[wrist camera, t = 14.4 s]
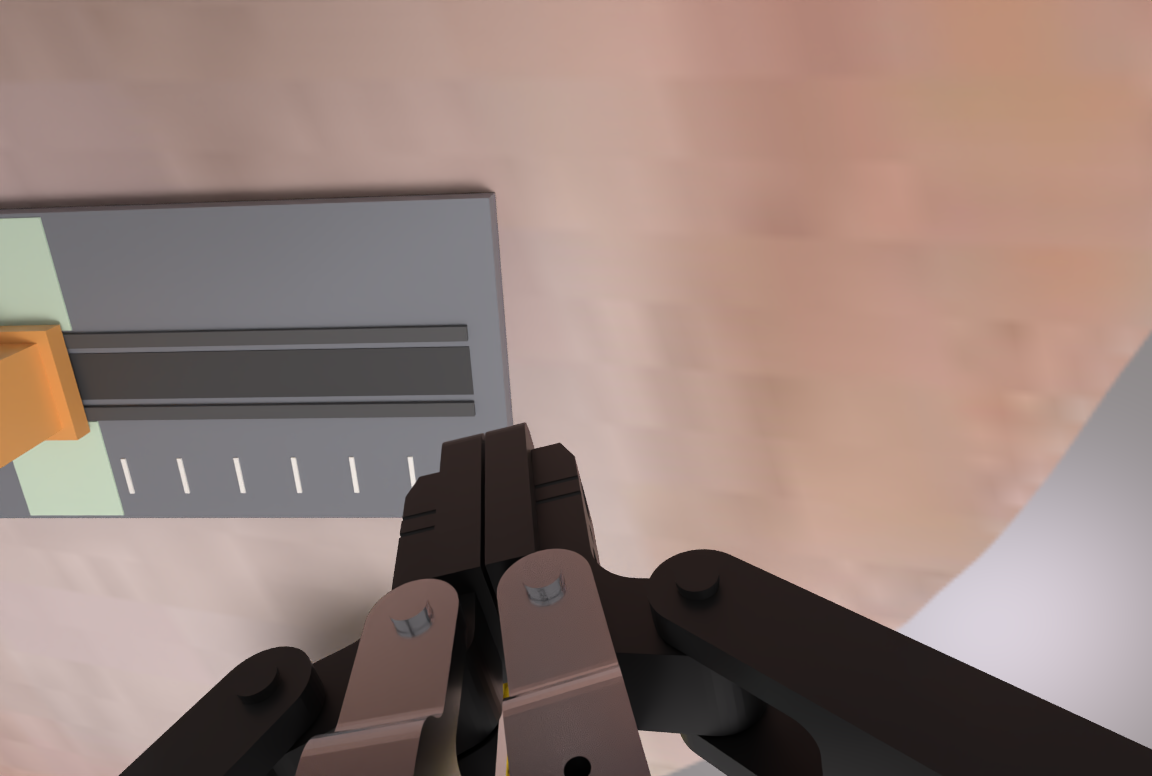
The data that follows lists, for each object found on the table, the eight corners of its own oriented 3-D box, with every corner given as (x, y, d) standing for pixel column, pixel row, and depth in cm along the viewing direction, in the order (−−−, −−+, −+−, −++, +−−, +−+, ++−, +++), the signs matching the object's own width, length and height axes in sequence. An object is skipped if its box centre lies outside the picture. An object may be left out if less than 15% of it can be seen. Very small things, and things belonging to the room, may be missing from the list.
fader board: (18, 503, 45) (-31, 538, 41) (-79, 212, 39) (-147, 225, 36) (519, 501, 43) (508, 538, 39) (494, 192, 37) (480, 205, 33)
